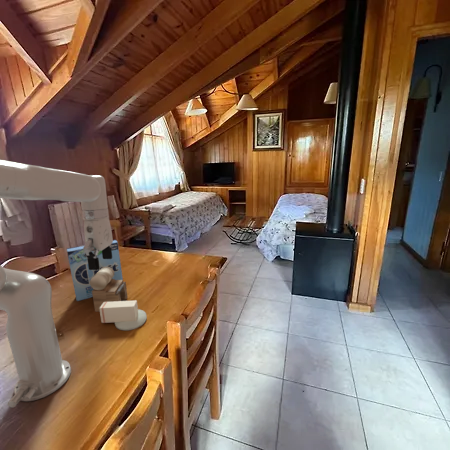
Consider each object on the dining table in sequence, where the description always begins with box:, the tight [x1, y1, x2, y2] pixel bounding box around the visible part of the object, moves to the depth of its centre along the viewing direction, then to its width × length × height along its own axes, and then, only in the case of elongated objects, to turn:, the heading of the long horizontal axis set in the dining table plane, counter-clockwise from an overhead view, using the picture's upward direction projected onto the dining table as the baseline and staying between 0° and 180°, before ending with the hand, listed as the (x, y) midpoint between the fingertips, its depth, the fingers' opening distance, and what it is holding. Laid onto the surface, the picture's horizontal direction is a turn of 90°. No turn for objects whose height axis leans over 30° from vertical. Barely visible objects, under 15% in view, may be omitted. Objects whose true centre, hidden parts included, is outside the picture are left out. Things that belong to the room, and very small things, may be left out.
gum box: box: [66, 239, 124, 302], centre depth 111 cm, size 20×5×23 cm, turn 123°
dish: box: [114, 308, 147, 331], centre depth 94 cm, size 11×11×1 cm
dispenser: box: [90, 266, 129, 313], centre depth 103 cm, size 10×10×15 cm
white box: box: [99, 299, 139, 324], centre depth 93 cm, size 4×12×6 cm, turn 94°
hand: (101, 263), depth 86 cm, fingers open, 9 cm apart
